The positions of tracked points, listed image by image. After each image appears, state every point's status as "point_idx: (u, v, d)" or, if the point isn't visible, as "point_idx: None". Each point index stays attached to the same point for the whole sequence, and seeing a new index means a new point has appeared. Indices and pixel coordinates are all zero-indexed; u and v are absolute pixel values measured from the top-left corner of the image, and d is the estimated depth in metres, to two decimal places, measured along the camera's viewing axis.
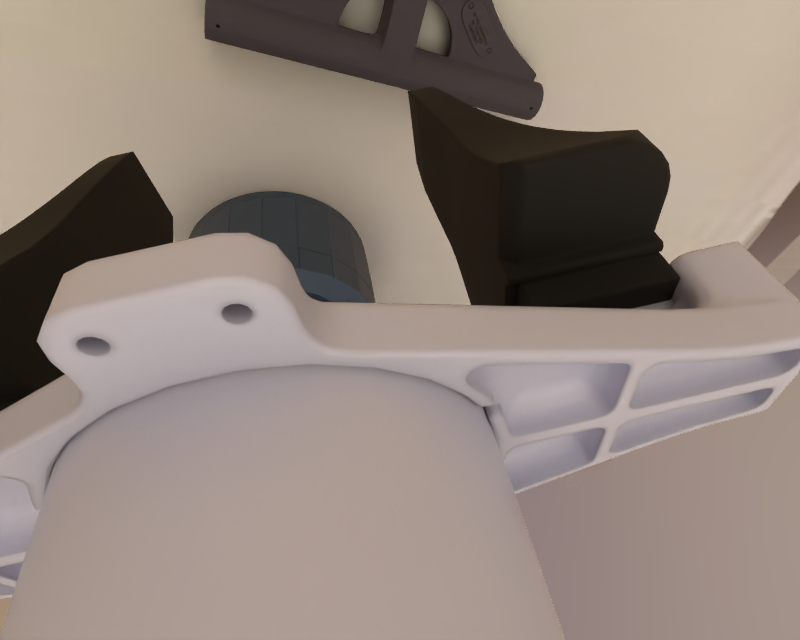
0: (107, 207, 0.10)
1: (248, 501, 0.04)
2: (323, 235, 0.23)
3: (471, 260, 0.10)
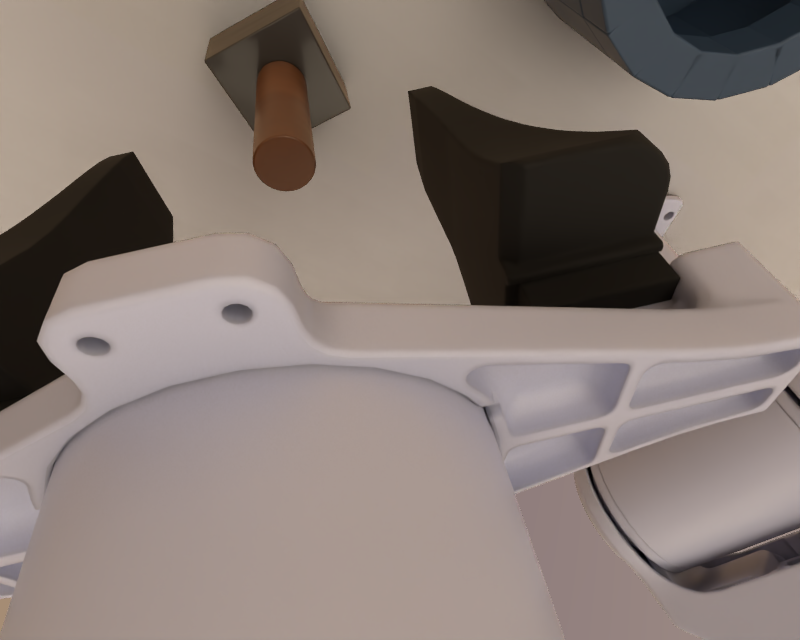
0: (107, 207, 0.10)
1: (247, 502, 0.04)
2: None
3: (471, 260, 0.10)
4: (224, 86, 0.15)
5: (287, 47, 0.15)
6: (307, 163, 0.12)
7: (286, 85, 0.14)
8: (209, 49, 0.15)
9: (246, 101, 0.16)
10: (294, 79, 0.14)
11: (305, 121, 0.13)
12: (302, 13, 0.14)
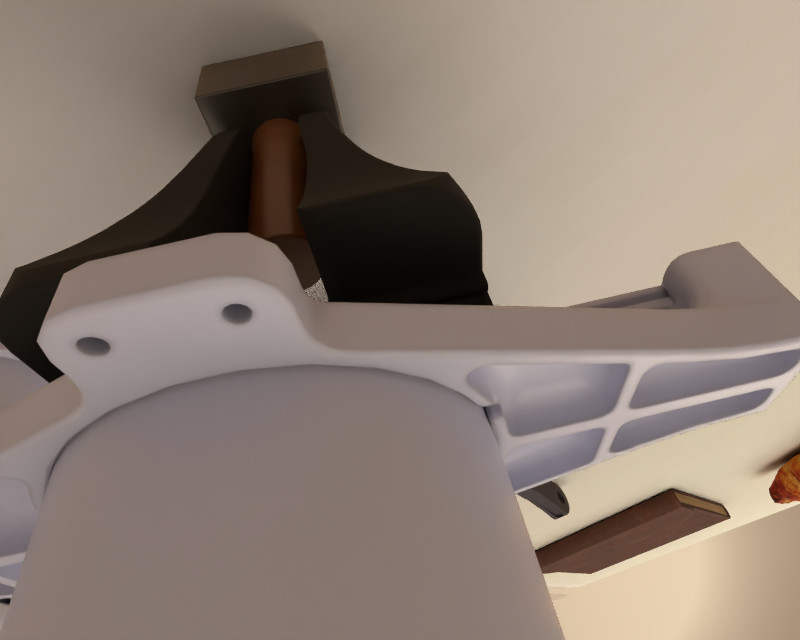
0: (231, 180, 0.10)
1: (247, 502, 0.04)
2: None
3: None
4: (293, 78, 0.12)
5: None
6: None
7: None
8: (326, 60, 0.12)
9: (270, 98, 0.12)
10: None
11: None
12: None
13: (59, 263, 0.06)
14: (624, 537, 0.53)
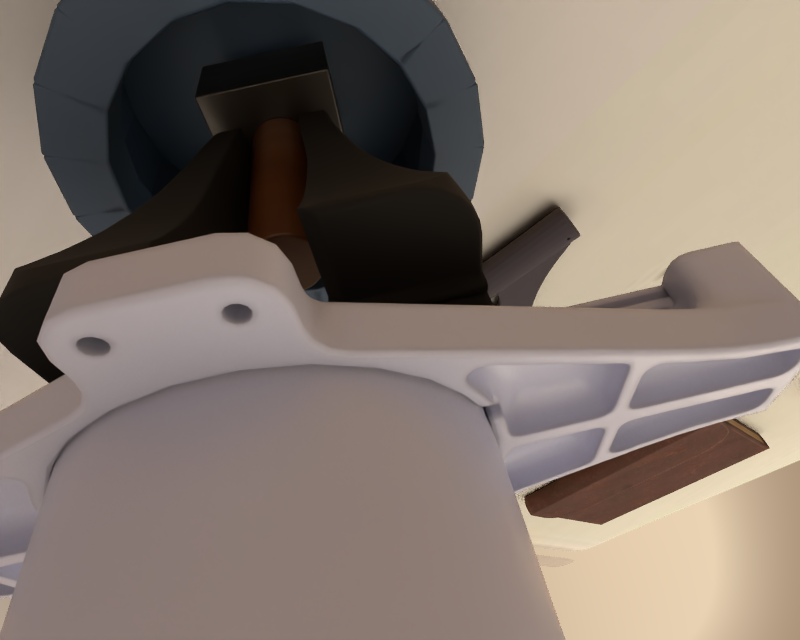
0: (231, 180, 0.10)
1: (248, 502, 0.04)
2: None
3: None
4: (293, 78, 0.12)
5: None
6: None
7: None
8: (326, 60, 0.12)
9: (270, 98, 0.12)
10: None
11: None
12: None
13: (59, 263, 0.06)
14: (644, 466, 0.44)
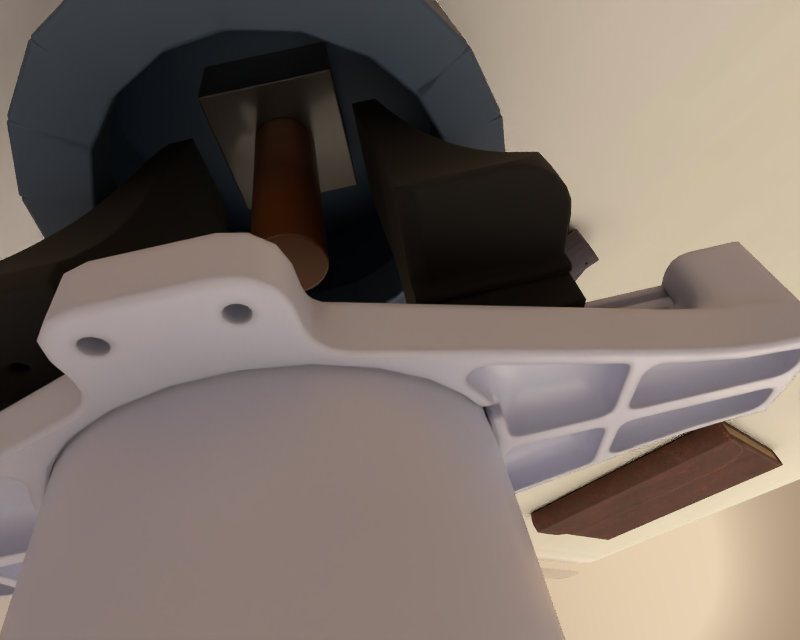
0: (176, 192, 0.10)
1: (247, 500, 0.04)
2: None
3: (402, 276, 0.10)
4: (296, 79, 0.12)
5: (324, 164, 0.14)
6: None
7: None
8: (329, 60, 0.12)
9: (273, 98, 0.12)
10: None
11: None
12: (351, 185, 0.14)
13: None
14: (655, 484, 0.43)
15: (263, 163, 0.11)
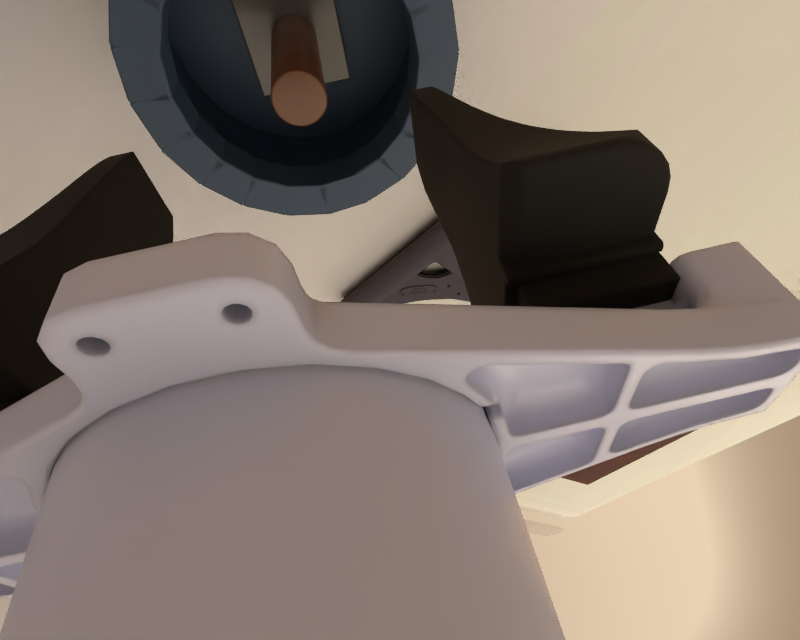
0: (107, 207, 0.10)
1: (246, 501, 0.04)
2: None
3: (471, 260, 0.10)
4: None
5: (324, 58, 0.18)
6: (296, 119, 0.14)
7: None
8: None
9: None
10: None
11: None
12: (345, 78, 0.18)
13: None
14: None
15: (279, 39, 0.15)
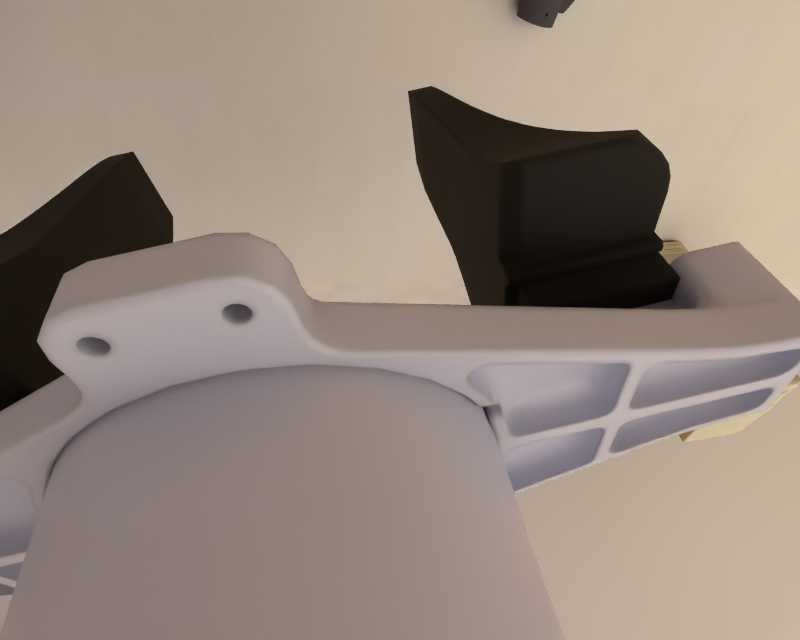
0: (107, 207, 0.10)
1: (246, 501, 0.04)
2: None
3: (471, 260, 0.10)
4: None
5: None
6: None
7: None
8: None
9: None
10: None
11: None
12: None
13: None
14: None
15: None
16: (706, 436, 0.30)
